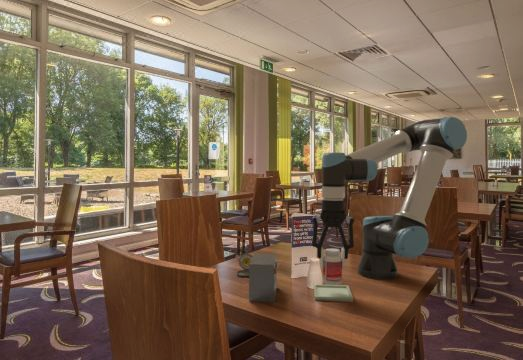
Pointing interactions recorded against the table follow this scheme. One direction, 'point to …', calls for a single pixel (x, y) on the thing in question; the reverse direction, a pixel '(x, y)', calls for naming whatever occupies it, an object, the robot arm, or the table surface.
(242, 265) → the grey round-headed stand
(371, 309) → the table surface
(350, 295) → the pad
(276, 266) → the block
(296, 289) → the table surface
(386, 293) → the table surface
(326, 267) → the pill bottle
